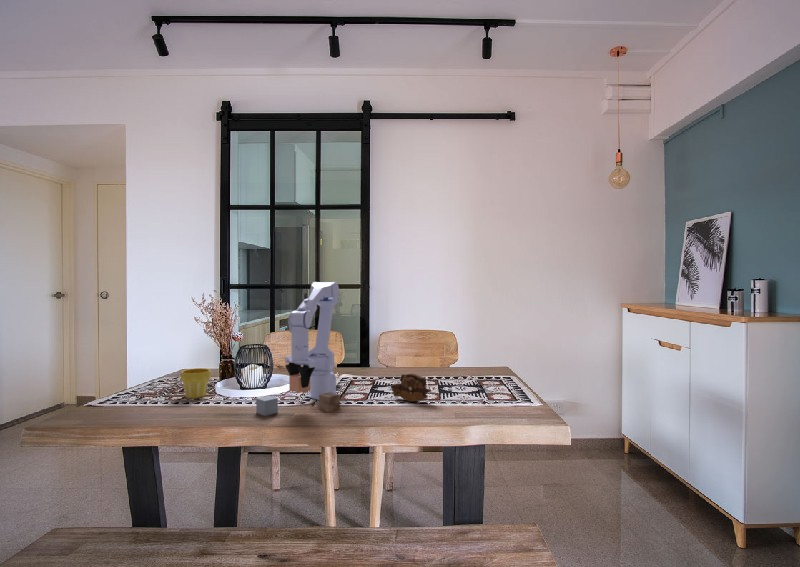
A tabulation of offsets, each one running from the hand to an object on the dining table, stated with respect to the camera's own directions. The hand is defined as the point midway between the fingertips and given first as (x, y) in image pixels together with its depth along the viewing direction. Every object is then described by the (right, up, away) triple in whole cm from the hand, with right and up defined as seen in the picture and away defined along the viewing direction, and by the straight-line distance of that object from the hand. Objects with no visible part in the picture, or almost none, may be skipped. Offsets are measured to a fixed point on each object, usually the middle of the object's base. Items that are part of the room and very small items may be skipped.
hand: (300, 385), depth 156 cm
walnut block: (+10, -9, +2) cm, 13 cm away
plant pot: (-44, -8, +18) cm, 48 cm away
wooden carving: (+38, -9, +12) cm, 41 cm away
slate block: (-10, -9, -3) cm, 14 cm away
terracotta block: (0, -2, 0) cm, 2 cm away
